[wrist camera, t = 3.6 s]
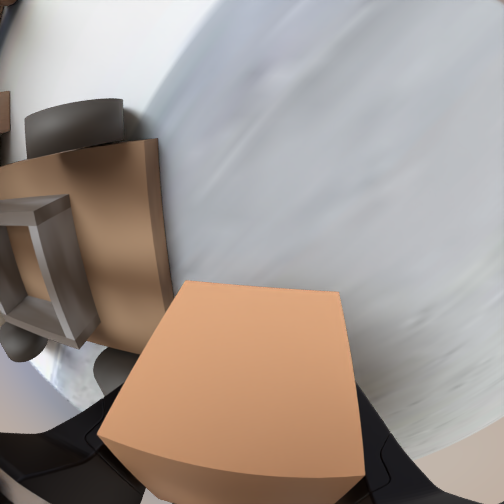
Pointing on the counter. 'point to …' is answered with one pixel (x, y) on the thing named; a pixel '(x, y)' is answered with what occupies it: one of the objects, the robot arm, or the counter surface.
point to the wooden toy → (2, 99)
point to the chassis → (83, 239)
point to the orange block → (242, 400)
